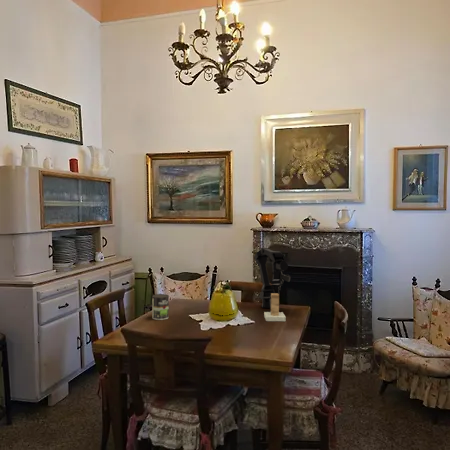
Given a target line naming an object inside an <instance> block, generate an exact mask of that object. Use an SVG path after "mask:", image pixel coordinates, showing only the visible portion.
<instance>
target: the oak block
mask: <svg viewBox="0 0 450 450" xmlns="http://www.w3.org/2000/svg"><path fill="white" fill-rule="evenodd" d="M270 312H271V315H272V316H279V312H280V293H279V294H276V293H275V292H274V293H271V308H270Z"/></svg>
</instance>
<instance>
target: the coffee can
mask: <svg viewBox="0 0 450 450" xmlns="http://www.w3.org/2000/svg"><path fill="white" fill-rule="evenodd" d="M151 297H152V301H151V304H152V307H151V308H152V311H151V312H152V313H151V314H152V315H151V316H152V317H151V318H152V319H153V320H156V321H164V320H168V319H169V315H170V313H169V310H170V308H169V306H170V305H169V299H170V298H169V297H170V295H168V294H165V293H158V294H157V293H156V294H153V295H152V296H151Z"/></svg>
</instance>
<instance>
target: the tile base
mask: <svg viewBox="0 0 450 450" xmlns="http://www.w3.org/2000/svg"><path fill="white" fill-rule="evenodd" d="M263 312H264V313H263V314H264V315H263V317H264V320H265V321H266V322H286V318H287V317H286V315H285V314H284V312H283V311H281V312H280V311H279V316H272V315H271V311H263Z"/></svg>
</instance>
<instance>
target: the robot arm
mask: <svg viewBox="0 0 450 450" xmlns="http://www.w3.org/2000/svg"><path fill="white" fill-rule="evenodd" d="M268 257H269V259H270V260H271V261H272V262H271V264H272V280H271V283H270V279H269V274H268V273H269V272H268V269H267V262H268ZM254 260H255V263H256V264H257V265H258V268H259V272H260V278H261V282H262V287H261V292H260V294H259V299H261V300H262V304H261V308H262V309H271V293H276V294H279V295H280V292H281V286H283V284H284V281H285V282H288V283H289V282H290V281H291V276H290V275H289V274H287V273H286V274H283V272H285V271H287V270H288V269H289V264H288V263H287V262H286V259H285V257H284V254H283V253H282V251H275V250H272V249H269V248H268V247H262V248H260V250H258V251H257V252H256V253H255V255H254Z"/></svg>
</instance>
